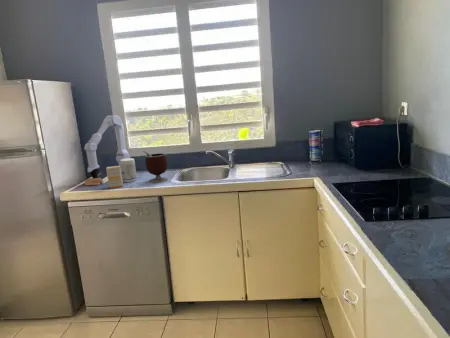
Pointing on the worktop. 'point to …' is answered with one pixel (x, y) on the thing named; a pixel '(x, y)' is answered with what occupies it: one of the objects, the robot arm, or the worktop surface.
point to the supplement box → (114, 176)
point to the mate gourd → (156, 166)
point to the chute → (103, 180)
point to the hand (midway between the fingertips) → (95, 180)
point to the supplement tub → (128, 170)
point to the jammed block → (93, 181)
